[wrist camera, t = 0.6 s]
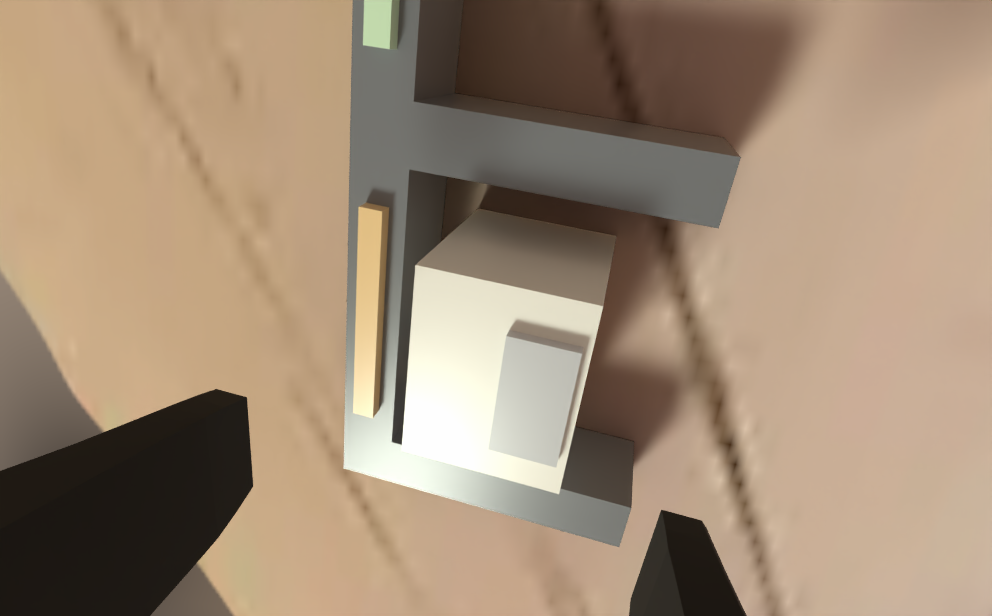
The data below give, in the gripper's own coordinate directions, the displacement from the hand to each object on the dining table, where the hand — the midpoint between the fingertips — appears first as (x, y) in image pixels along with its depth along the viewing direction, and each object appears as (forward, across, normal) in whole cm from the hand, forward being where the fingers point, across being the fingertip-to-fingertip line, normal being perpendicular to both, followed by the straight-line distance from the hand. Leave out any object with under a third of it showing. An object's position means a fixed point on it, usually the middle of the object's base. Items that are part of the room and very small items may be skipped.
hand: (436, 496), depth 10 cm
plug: (+9, 0, 0) cm, 9 cm away
